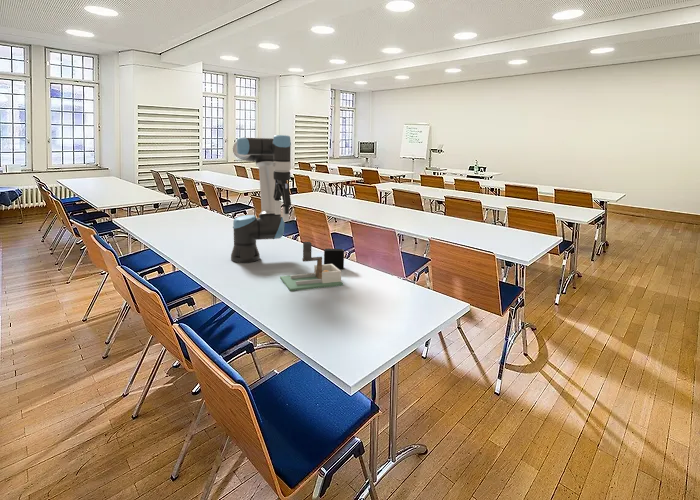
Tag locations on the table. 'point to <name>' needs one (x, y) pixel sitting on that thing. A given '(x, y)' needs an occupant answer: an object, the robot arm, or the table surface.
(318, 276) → the striker
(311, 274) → the pitch
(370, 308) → the table surface
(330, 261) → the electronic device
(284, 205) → the robot arm
